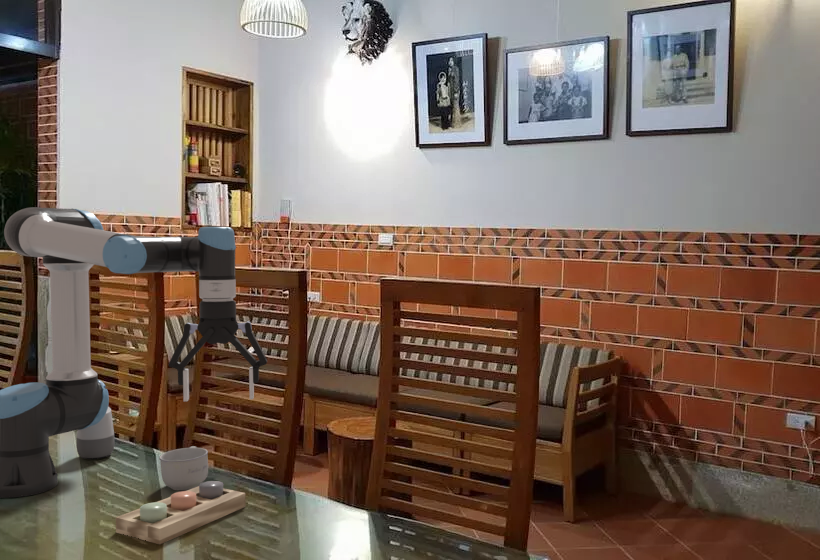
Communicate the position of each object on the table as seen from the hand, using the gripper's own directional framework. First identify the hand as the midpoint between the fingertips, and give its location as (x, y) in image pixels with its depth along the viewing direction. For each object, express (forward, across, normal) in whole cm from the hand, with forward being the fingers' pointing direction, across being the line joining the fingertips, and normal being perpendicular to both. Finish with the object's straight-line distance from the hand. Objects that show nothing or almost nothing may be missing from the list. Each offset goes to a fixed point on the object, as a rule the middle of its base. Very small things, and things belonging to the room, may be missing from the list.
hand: (219, 399), depth 164 cm
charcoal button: (+21, -2, +1) cm, 22 cm away
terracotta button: (+21, -7, -6) cm, 23 cm away
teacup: (+24, -9, +17) cm, 31 cm away
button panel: (+23, -7, -6) cm, 25 cm away
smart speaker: (+23, -37, +44) cm, 62 cm away
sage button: (+21, -12, -12) cm, 27 cm away
